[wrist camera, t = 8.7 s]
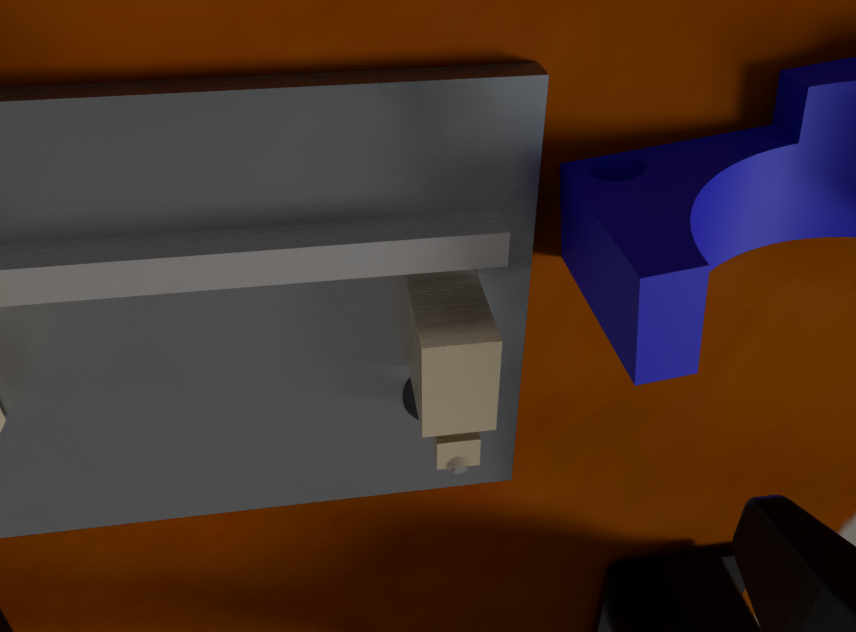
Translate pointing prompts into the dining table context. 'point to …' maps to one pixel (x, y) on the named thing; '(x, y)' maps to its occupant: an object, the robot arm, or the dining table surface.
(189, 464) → the drilled plate
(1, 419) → the block
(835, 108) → the cable clip
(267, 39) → the dining table surface
